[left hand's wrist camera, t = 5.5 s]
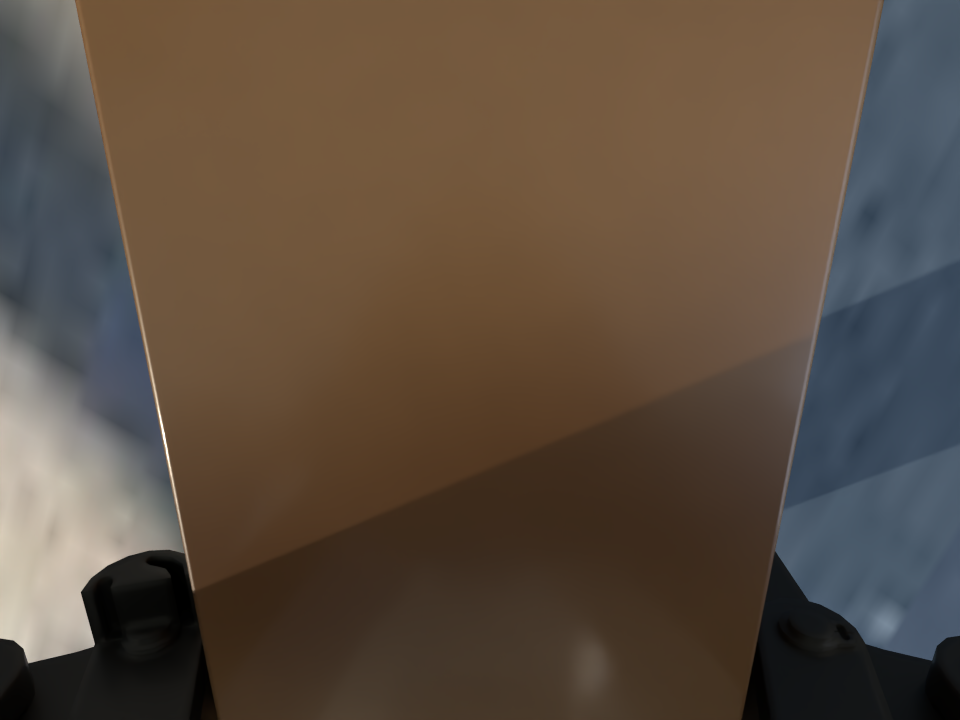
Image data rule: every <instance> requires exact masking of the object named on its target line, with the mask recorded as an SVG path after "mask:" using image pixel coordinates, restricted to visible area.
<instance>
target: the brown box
mask: <svg viewBox="0 0 960 720" xmlns="http://www.w3.org/2000/svg"><path fill="white" fill-rule="evenodd" d="M75 2H76V7H77V12H78V17H79V22H80V27H81V32H82V38H83V43H84V48H85V53H86V58H87V63H88V68H89V73H90V78H91V83H92V88H93V93H94V98H95V103H96V108H97V113H98V118H99V123H100V128H101V133H102V138H103V143H104V149H105V154H106V159H107V164H108V169H109V174H110V179H111V184H112V189H113V194H114V199H115V204H116V209H117V214H118V219H119V224H120V229H121V234H122V239H123V244H124V249H125V254H126V260H127V265H128V270H129V275H130V280H131V285H132V290H133V295H134V300H135V305H136V310H137V315H138V320H139V325H140V330H141V335H142V340H143V345H144V350H145V355H146V360H147V365H148V371H149V376H150V381H151V386H152V391H153V396H154V401H155V406H156V411H157V416H158V421H159V426H160V431H161V436H162V441H163V446H164V451H165V456H166V461H167V466H168V471H169V476H170V481H171V487H172V492H173V497H174V502H175V507H176V512H177V517H178V522H179V527H180V532H181V537H182V542H183V547H184V552H185V557H186V562H187V567H188V572H189V577H190V582H191V587H192V592H193V598H194V603H195V608H196V613H197V618H198V623H199V628H200V633H201V638H202V643H203V648H204V653H205V658H206V663H207V668H208V673H209V678H210V683H211V688H212V693H213V698H214V703H215V709H216V714H217V719H218V720H742V715H743V710H744V705H745V700H746V695H747V689H748V684H749V679H750V674H751V669H752V664H753V659H754V654H755V649H756V644H757V639H758V634H759V629H760V624H761V619H762V614H763V609H764V604H765V599H766V594H767V588H768V583H769V578H770V573H771V568H772V563H773V558H774V553H775V548H776V543H777V538H778V533H779V528H780V523H781V518H782V513H783V508H784V503H785V498H786V493H787V487H788V482H789V477H790V472H791V467H792V462H793V457H794V452H795V447H796V442H797V437H798V432H799V427H800V422H801V417H802V412H803V407H804V402H805V397H806V392H807V386H808V381H809V376H810V371H811V366H812V361H813V356H814V351H815V346H816V341H817V336H818V331H819V326H820V321H821V316H822V311H823V306H824V301H825V296H826V290H827V285H828V280H829V275H830V270H831V265H832V260H833V255H834V250H835V245H836V240H837V235H838V230H839V225H840V220H841V215H842V210H843V205H844V200H845V195H846V189H847V184H848V179H849V174H850V169H851V164H852V159H853V154H854V149H855V144H856V139H857V134H858V129H859V124H860V119H861V114H862V109H863V104H864V99H865V94H866V88H867V83H868V78H869V73H870V68H871V63H872V58H873V53H874V48H875V43H876V38H877V33H878V28H879V23H880V18H881V13H882V8H883V3H884V0H75Z"/></svg>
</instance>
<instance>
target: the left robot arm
mask: <svg viewBox="0 0 960 720" xmlns="http://www.w3.org/2000/svg"><path fill="white" fill-rule="evenodd" d="M81 595H82V598H83V602H84V605H85V609H86V613H87V616H88V620H89V624H90V627H91V631H92V634H93V638H94V642H95V646H94V647H92V648H89V649H85V650H82V651H79V652H75V653H71V654H67V655H62V656H58V657H54V658H50V659H45V660H41V661H37V662H33V663H28V662H27V659H26V655H25V652H24V649H23V648H22V647H21V646H19V645H18V644H17V643H16V642H15V641H13V640H6V639H0V720H218V719H217V714H216V709H215V703H214V698H213V693H212V688H211V683H210V678H209V673H208V668H207V663H206V658H205V653H204V648H203V643H202V638H201V633H200V628H199V623H198V618H197V613H196V608H195V603H194V598H193V592H192V587H191V582H190V577H189V572H188V567H187V562H186V557H185V554H184V553H179V552H175V551H171V550H155V551H147V552H143V553H139V554H135V555H131V556H128V557H125V558H123V559H121V560H119V561H117V562H115V563H113V564H110V565H108V566H107V567H105V568H104V569H103V570H101V571H100V572H99V573H97V574H96V575H95V576H93V577H92V578H91V579H90V580H89V582H88V583H87V585H86V586H85V587H84V589H83V590H82V591H81ZM742 720H960V636H956V637H949V638H946V639H945V640H944V641H942V642H941V643H940V644H939V645H938V646H937V648H936V651H935V654H934V657H933V660H932V661H930V660H926V659H922V658H917V657H913V656H909V655H905V654H900V653H896V652H892V651H887V650H883V649H880V648H877V647H873V646H870V645H867V644H865V642H864V641H863V639H862V638H861V636H860V634H859V633H858V631H857V630H856V628H855V627H854V626H852V625H851V624H850V623H849V622H848V621H846V620H845V619H844V618H843V617H842V616H841V615H839V614H837V613H835V612H833V611H832V610H830V609H828V608H826V607H824V606H822V605H820V604H816V603H813V602H809V601H808V599H807V598H806V596H805V595H804V593H803V592H802V590H801V589H800V587H799V586H798V585H797V583H796V582H795V580H794V579H793V577H792V576H791V574H790V573H789V571H788V570H787V568H786V567H785V565H784V564H783V562H782V561H781V559H780V558H779V556H778V555H777V553H776V552H775V553H774V558H773V563H772V568H771V573H770V578H769V583H768V588H767V594H766V599H765V604H764V609H763V614H762V619H761V624H760V629H759V634H758V639H757V644H756V649H755V654H754V659H753V664H752V669H751V674H750V679H749V684H748V689H747V695H746V700H745V705H744V710H743V715H742Z"/></svg>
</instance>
